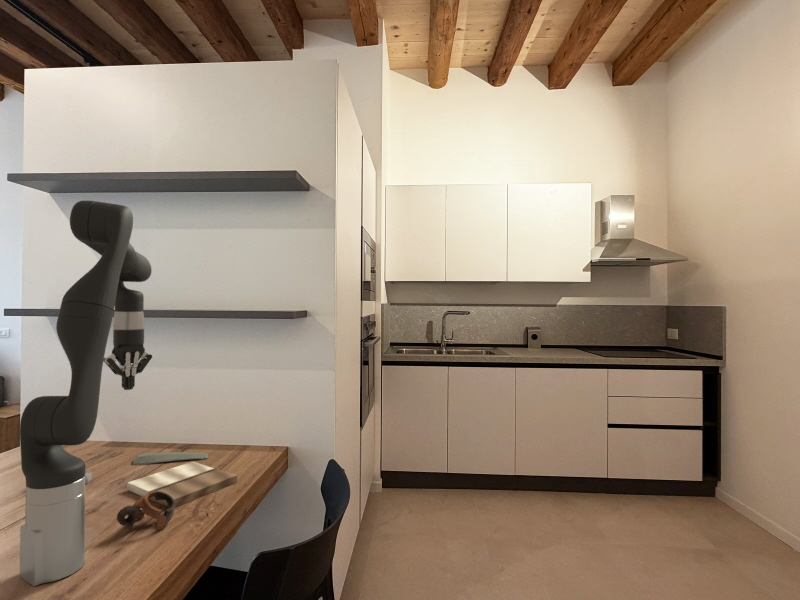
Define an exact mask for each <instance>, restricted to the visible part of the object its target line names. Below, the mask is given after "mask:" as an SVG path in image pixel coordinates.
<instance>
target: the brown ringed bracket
mask: <svg viewBox="0 0 800 600" xmlns="http://www.w3.org/2000/svg"><path fill="white" fill-rule="evenodd" d="M153 496H154V497H155V500H166V502H167V504H168V506H170V507H171V508H170V507H168V506H167V507H168V508H167V509H165V510H164V514H161V513H162V509H160V508H157V507H154V506H153V505H152V504H151V503H150V502H149V498H150V497H153ZM175 508H176V507H175V501H174V499H173V498H172V497H171V496H170V495H168V494H167V493H164V492H160V491H152V492H149V493H147V494H146V495H145V497H142V496H141V497H140V498H139V499H138V500H136V501H135V503H134V504H133V505H127V506H124V507H123V508H122V509H120V510H119V511H118V512H117V514H116V520H117V523H118V524H119V525H121V526H122V527H126V529H127V530H133V528H134V524H135V521H136V520H139V519H141V520H142V519H144V517H145V515H146V516H149V517H151V518H153V519H154V520H155V519H156V520H157V523H156V525H155V527H154V529H155V531H162V530H163V528H164V527H165V525H167V524H169V522H170V521H171V520H172V519H173V517H174V514H175ZM126 517H127V518H126Z"/></svg>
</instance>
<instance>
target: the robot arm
mask: <svg viewBox="0 0 800 600" xmlns="http://www.w3.org/2000/svg"><path fill="white" fill-rule="evenodd" d="M133 225H134V215H133V211H132V210H131V209H130V207H128V206H126V205H123V204H118V203H110V202H104V201H103V202H102V201H97V200H79V201H77V202H76V203H74V205H73V206H72V208H71V211H70V215H69V227H70V231H71V233H72V234H73V236H74V237H75V238H76V239H77V240H78V241H79V242H80V243H83V244H84V245H86V246H87V247H88V248H90V249H92V250H93V251H95V252H96V253H98V254H99V255H100V258H99V260H98V261H97V262H96V264H95V265H94V266H93V267H92V268H90V269H89V270H88V271H87V272H86V273H85V274H84V275H83V276H81V277H80V278H79V279H78V280H76V281H75V283H74V284H73V285H72V286H71V287H70V288H69V289H68V290H66V292H65V294H64V295H63V297H62V300H61V304H60V308H59V311H58V314H57V315H58V316H57V321H56V327H55V329H56V334H57V337H58V340H59V343H60V345H61V347H62V349H63V351H64V353H65V355H66V357H67V360H68V362H69V365H70V372H71V380H70V388H69V393H68V395H43V396H38V397H36V398H35V397H34V398H33V399H32V400H30V401H29V402H28V404H27V405H26V406H25V408H24V409H23V412H22V414H21V419H20V425H19V444H20V461H21V462H20V463H21V464H20V465H21V470H22V474H23V476H24V477H25V508H24V509H25V510H24V512H25V515H24V516H25V519H24V521H25V523H24V524H21V525H20V528H19V577H20V578H21V579H22V580H23V581H26V582H27V583H28V584H30V585H31V586H33V587H36V586H38V585H42V584H44V583H45V584H46V583H50V582H55V581H58V580H61V579H63V578H66V577H68V576H70V575H72V574H75V573H76V572H77V571H79V570H80V569H81V568H82V567H83V566H84V564H85V553H86V551H85V550H86V549H85V538H86V537H85V533H86V532H85V526H86V525H85V523H86V522H85V521H86V518H85V517H86V516H85V515H86V485H85V472H86V467H87V466H86V463H85V461H84V460H83V459H82V458H81V457H78V456H76V455H73V454H71V453H69V452H68V451H67V450H65V448H64V447H63V446H78V445H82V444H83V443H85V442H87V441H88V440H89V438H90V436H91V435H92V434H93V432H94V429H95V426H96V423H97V419H98V411H99V402H100V391H101V383H102V381H101V380H102V371H103V366H104V363H105V365H106V366H107V367H108V368H109V369H110V370H111V372H112V373H113V374H114V375H115V376H116V375H117V376H120V377H121V388H122V389H123V390H125V391H130V390H133V389H134V388H135V386H136V385H135V384H136V383H135V381H136V380H135V379H136V375H138V374H141V373H142V372H143V371H144V369H145V368H146V367H147V365H148V364H149V362H150V361H151V360H152V359H153V355H152V354H149V353H148V352H146V349H145V346H144V343H145V315H144V307H145V306H144V302H145V301H144V298H145V297H144V293H143V292H142V291H140V290H139V291H138V290H135V289H130V288H127V287H126V286H125V284H124V283H125V282H126V283H127V282H129V283H135V282H136V283H143V282H146V281H147V280H149V279H150V277H151V276H152V265H151V263H150V261H149V260H148V259H147V257H146V256H144V255H143V254H141V253H140V252H137V251H136V250H135V247H134V246H133V245H132V244H131V243H130V240H131V237H132V232H133V227H134V226H133ZM112 321H113V322H112ZM112 323H113V324H112ZM112 327H113V328H112ZM111 328H112V331H113V333H112V334H113V335H112V345H113V348H112V350H111V354H110V355H109V356H107V357H105V354H106V349H107V344H108V338H109V335H110V331H111ZM116 362H117V363H118V364H117V363H116Z"/></svg>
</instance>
